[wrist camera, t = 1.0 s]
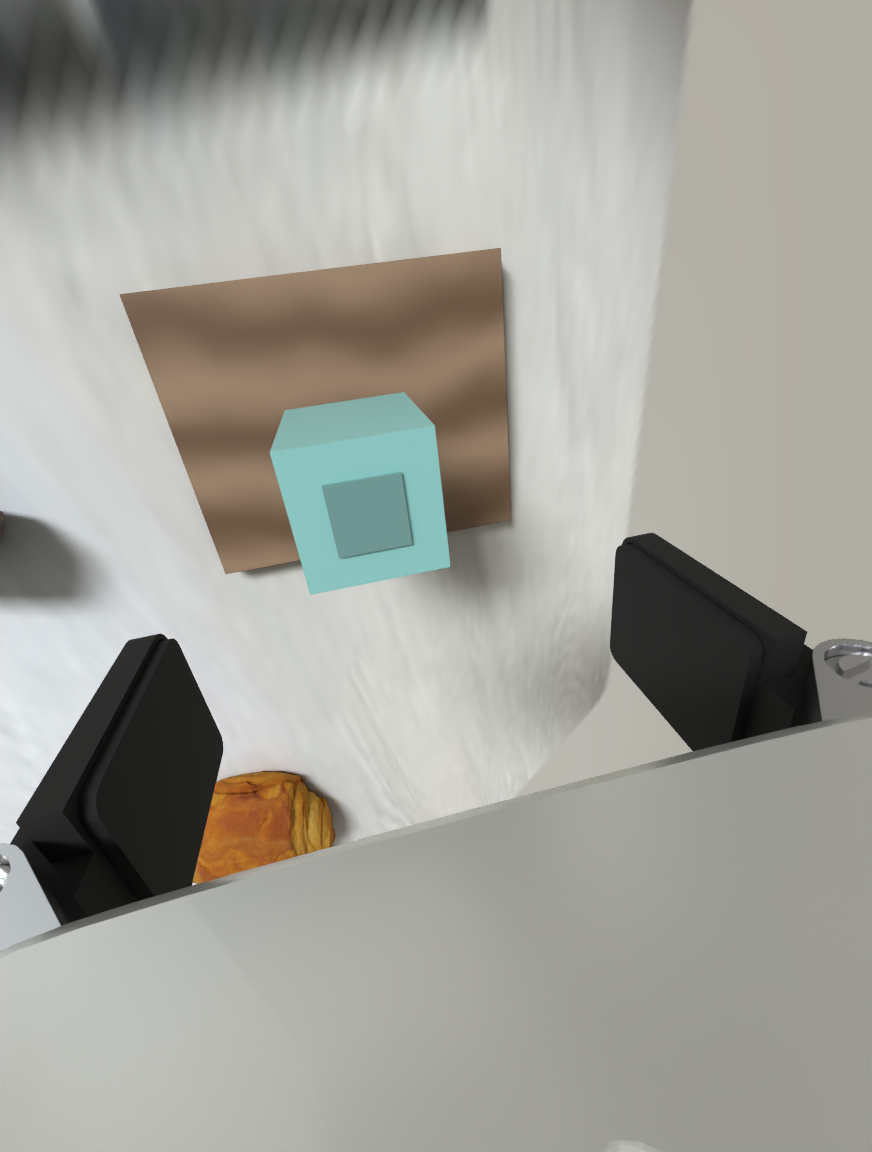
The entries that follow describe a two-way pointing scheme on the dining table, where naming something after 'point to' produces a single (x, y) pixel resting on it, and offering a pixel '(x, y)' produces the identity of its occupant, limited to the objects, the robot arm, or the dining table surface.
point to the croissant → (261, 824)
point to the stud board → (328, 380)
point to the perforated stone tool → (1, 523)
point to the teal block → (362, 490)
